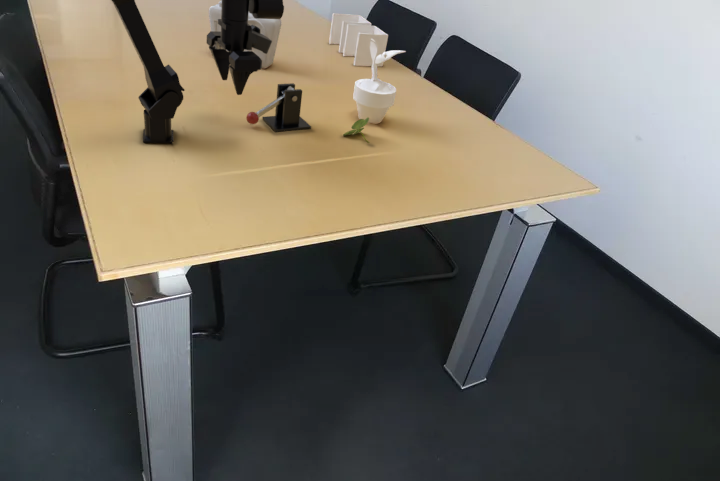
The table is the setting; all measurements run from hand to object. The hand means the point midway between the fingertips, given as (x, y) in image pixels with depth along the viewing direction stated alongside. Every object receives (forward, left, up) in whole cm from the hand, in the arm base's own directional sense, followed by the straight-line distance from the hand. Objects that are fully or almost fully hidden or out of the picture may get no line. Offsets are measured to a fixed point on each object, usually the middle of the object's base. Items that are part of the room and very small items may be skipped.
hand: (231, 87), depth 131 cm
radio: (+53, -9, -11) cm, 55 cm away
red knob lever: (+3, -11, -7) cm, 13 cm away
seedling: (-3, -32, -11) cm, 34 cm away
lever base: (+4, -15, -11) cm, 19 cm away
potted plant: (+10, -40, -11) cm, 42 cm away
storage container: (+70, -51, -11) cm, 88 cm away
